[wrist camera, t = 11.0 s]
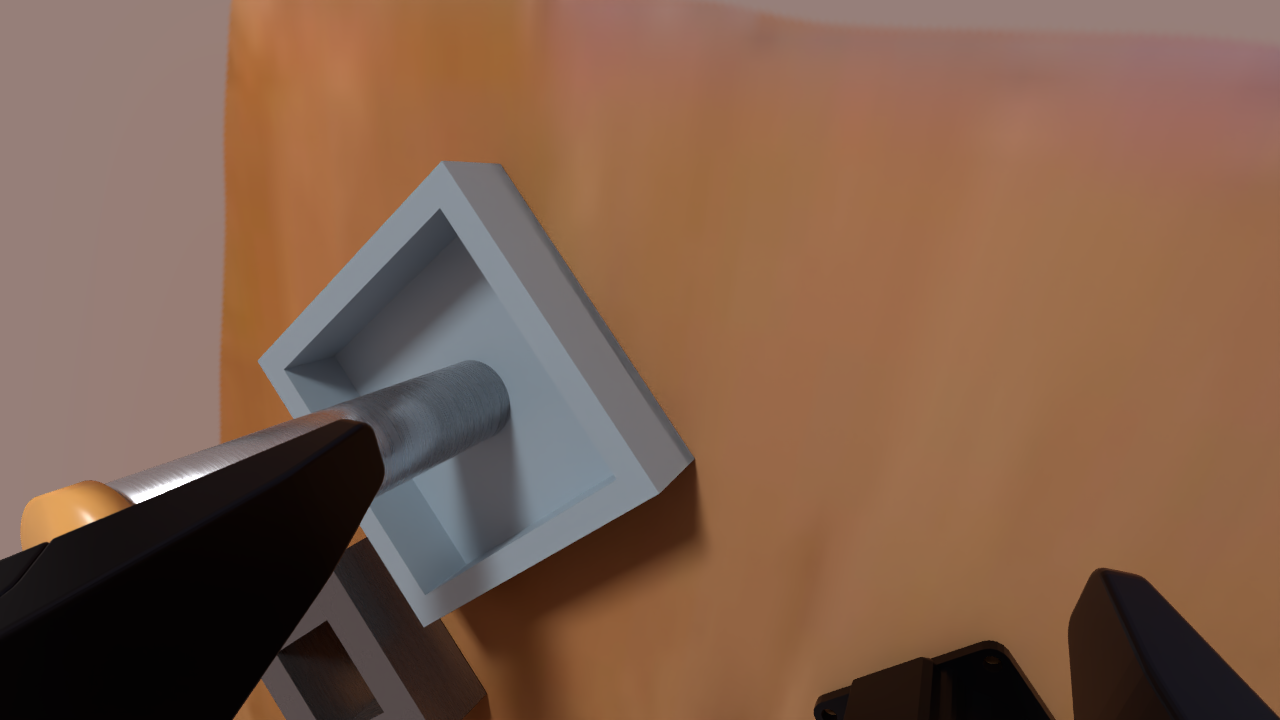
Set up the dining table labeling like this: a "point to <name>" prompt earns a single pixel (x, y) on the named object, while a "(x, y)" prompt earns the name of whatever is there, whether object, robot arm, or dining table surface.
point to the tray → (517, 351)
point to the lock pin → (399, 414)
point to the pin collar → (369, 654)
